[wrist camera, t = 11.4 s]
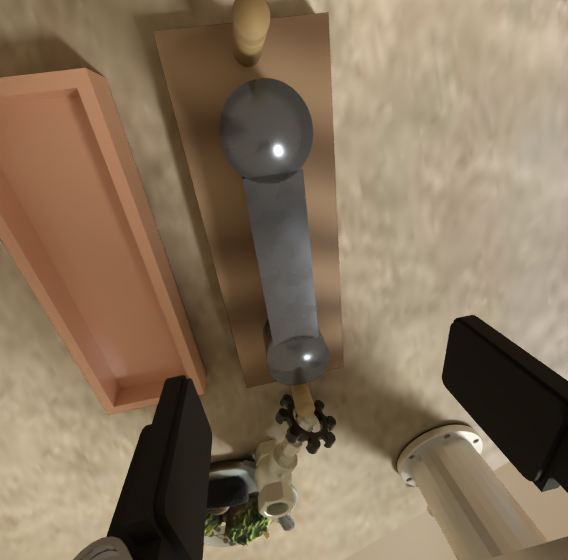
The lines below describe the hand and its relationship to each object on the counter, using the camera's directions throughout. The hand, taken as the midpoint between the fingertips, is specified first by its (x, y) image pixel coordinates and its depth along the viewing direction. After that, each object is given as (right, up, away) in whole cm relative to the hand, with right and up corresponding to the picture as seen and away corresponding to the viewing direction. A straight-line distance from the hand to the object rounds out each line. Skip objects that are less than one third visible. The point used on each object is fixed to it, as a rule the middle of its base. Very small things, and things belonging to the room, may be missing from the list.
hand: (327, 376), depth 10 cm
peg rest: (-2, +6, +13) cm, 15 cm away
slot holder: (-15, +4, +12) cm, 20 cm away
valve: (-2, -14, +24) cm, 28 cm away
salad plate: (-9, -26, +28) cm, 40 cm away
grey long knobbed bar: (-2, +6, +12) cm, 14 cm away
